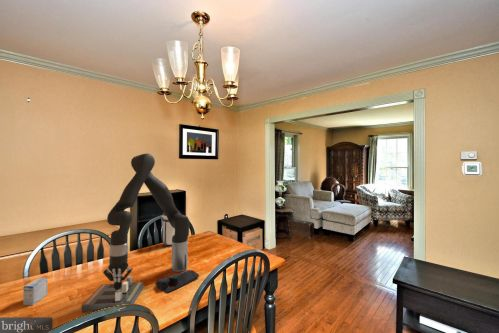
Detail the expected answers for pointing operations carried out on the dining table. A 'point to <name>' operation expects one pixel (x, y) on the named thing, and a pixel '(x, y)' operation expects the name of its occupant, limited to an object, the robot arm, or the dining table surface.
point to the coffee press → (167, 231)
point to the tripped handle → (124, 287)
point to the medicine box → (34, 291)
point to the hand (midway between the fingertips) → (117, 288)
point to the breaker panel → (112, 296)
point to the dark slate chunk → (176, 280)
